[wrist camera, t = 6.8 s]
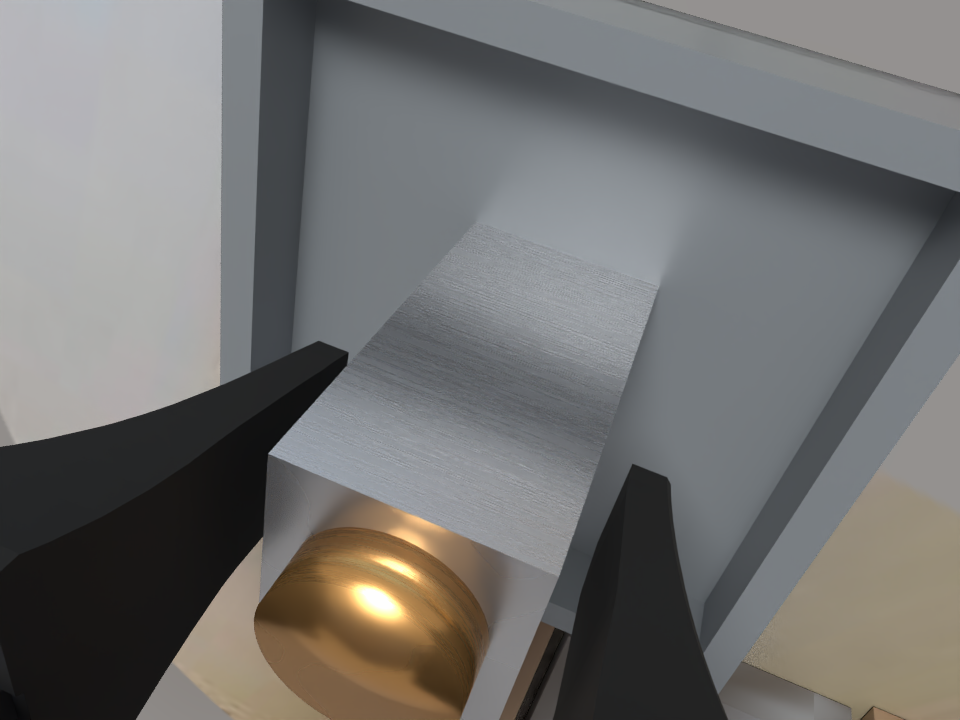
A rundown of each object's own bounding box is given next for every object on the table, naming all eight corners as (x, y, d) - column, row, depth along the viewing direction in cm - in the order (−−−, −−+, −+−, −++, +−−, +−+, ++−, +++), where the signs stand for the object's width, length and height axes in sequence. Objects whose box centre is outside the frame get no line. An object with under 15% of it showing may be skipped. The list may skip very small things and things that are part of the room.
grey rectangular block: (658, 286, 16) (536, 642, 9) (601, 431, 18) (467, 804, 11) (475, 221, 16) (222, 504, 9) (442, 369, 19) (220, 685, 12)
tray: (1047, 119, 13) (1090, 169, 11) (725, 616, 21) (716, 697, 19) (300, -100, 15) (223, -92, 13) (270, 427, 23) (219, 481, 21)
